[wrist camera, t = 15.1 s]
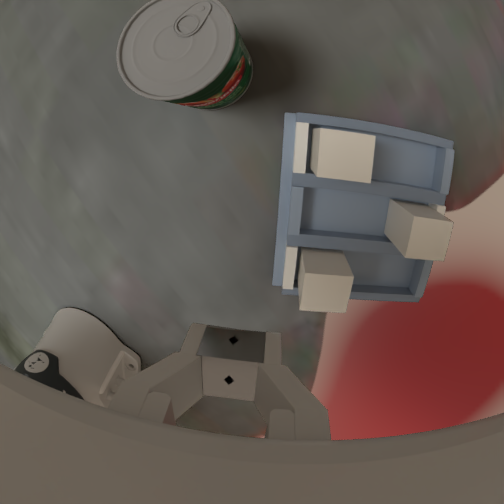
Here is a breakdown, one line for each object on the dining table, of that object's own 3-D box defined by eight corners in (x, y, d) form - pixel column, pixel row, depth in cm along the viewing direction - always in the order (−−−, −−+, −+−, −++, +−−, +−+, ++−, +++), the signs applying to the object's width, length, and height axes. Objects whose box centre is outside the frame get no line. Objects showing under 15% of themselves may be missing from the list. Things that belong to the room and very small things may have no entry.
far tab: (335, 280, 30) (345, 313, 24) (297, 277, 30) (299, 310, 25) (341, 248, 28) (354, 276, 23) (301, 244, 29) (305, 273, 23)
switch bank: (417, 289, 31) (427, 304, 28) (272, 279, 32) (271, 295, 29) (447, 141, 24) (463, 143, 21) (284, 113, 25) (284, 110, 22)
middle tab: (418, 236, 27) (444, 261, 22) (383, 232, 27) (405, 257, 22) (425, 203, 26) (454, 222, 20) (389, 198, 26) (414, 216, 21)
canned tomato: (218, 126, 26) (179, 125, 16) (157, 83, 25) (95, 67, 15) (271, 63, 24) (263, 24, 13) (206, 22, 22) (166, -25, 12)
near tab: (352, 171, 26) (370, 183, 20) (309, 166, 26) (316, 176, 20) (356, 134, 24) (375, 135, 19) (312, 128, 24) (320, 128, 19)
